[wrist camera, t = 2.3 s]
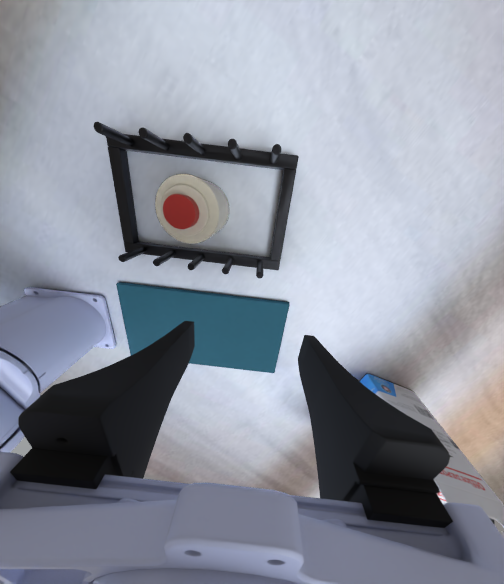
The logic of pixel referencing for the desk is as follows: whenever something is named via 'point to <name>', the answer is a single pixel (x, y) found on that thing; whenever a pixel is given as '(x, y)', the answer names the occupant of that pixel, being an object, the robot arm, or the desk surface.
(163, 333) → the mat
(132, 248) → the drying rack
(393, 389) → the ink box
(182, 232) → the cream bottle
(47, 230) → the desk surface
